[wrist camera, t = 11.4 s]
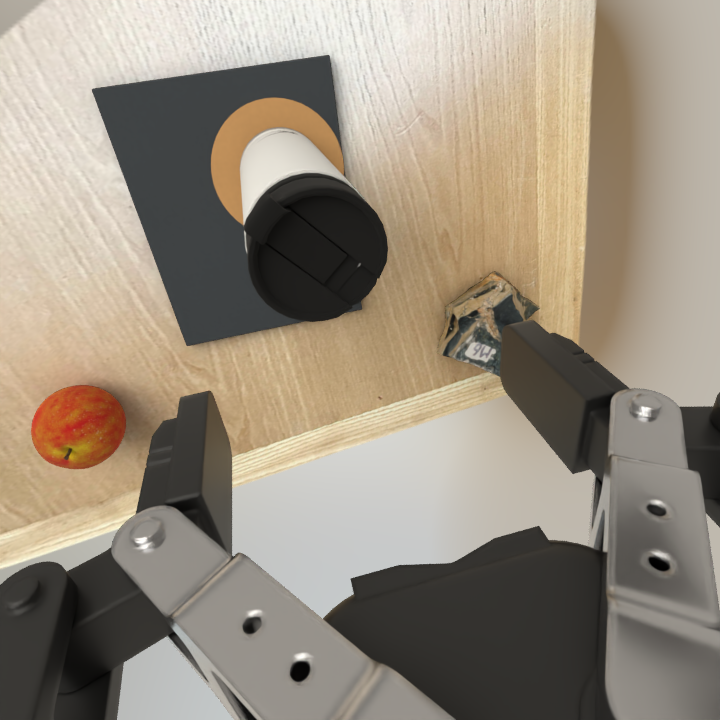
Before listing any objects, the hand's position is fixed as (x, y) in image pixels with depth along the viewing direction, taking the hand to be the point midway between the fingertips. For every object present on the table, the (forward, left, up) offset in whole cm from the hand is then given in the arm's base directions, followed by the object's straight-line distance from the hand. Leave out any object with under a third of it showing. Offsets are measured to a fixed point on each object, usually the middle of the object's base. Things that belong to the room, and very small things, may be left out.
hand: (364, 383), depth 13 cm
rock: (+17, +17, -30) cm, 38 cm away
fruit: (+17, -21, -30) cm, 40 cm away
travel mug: (0, 0, -29) cm, 29 cm away
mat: (+3, -3, -30) cm, 30 cm away
